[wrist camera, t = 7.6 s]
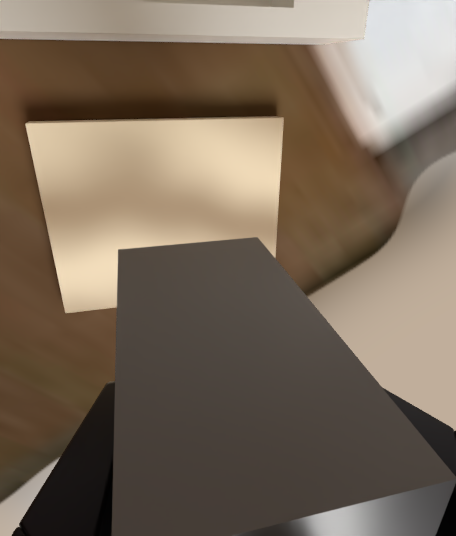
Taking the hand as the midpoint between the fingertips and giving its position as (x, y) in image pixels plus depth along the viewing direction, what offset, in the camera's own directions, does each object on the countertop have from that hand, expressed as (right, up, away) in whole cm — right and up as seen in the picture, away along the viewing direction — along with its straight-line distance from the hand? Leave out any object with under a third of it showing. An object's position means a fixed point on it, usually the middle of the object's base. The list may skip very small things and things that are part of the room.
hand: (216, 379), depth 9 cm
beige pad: (-3, +5, +11) cm, 12 cm away
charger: (-1, +2, +3) cm, 4 cm away
